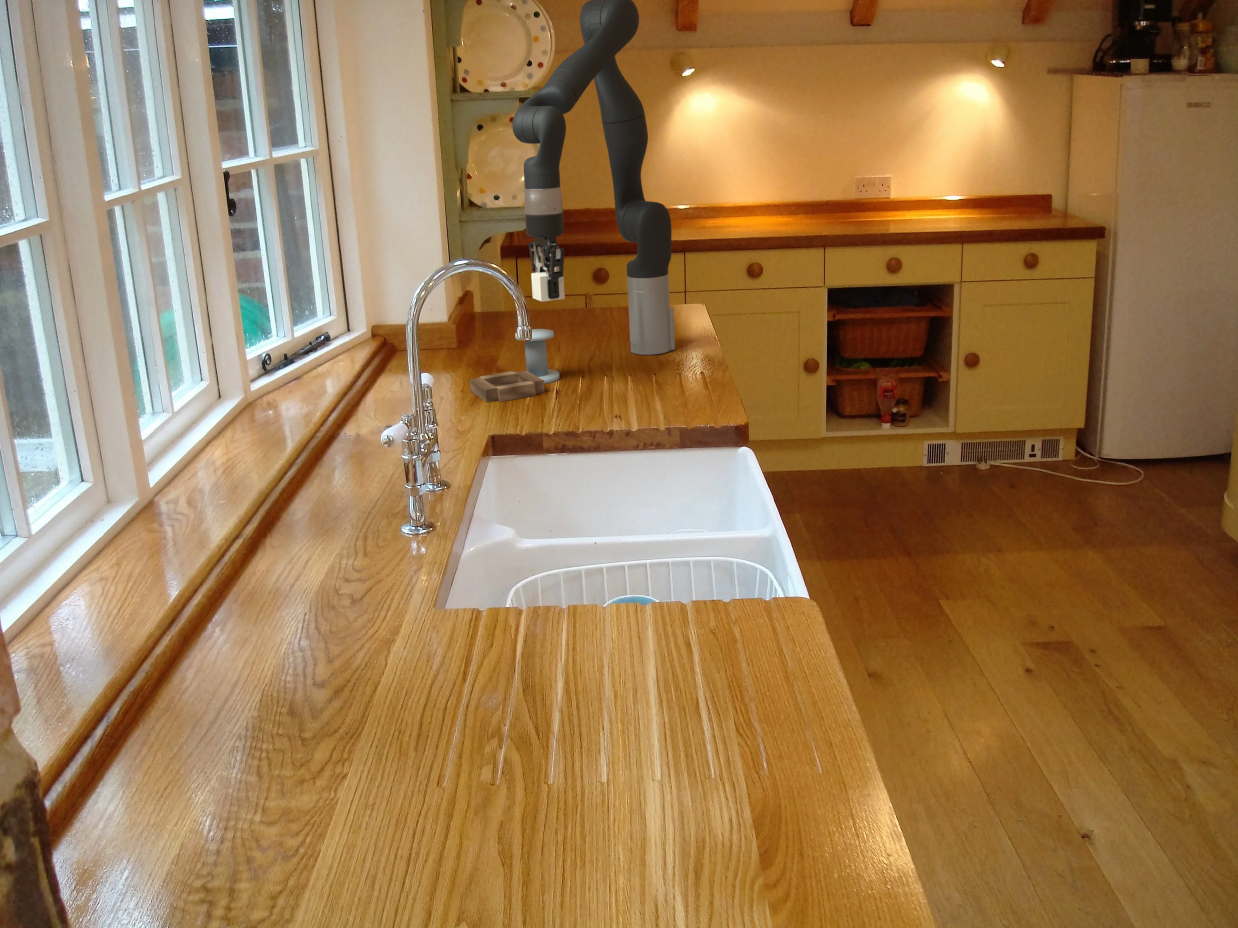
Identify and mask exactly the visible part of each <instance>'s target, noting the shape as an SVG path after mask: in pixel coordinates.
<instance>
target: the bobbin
mask: <svg viewBox="0 0 1238 928" xmlns="http://www.w3.org/2000/svg"><path fill="white" fill-rule="evenodd" d="M514 335H515V337H514V338H515V340H516V341H520V340H519V339H518V337H517V332H515V333H514ZM554 336H555V331H554V330H552V329H547V328H535V329H532V339H531V340H530V341H527V342H524V352H525V353H524V354H525V363H526V371H528V372H530V373H532V374H533V375H535V376H537V377H539V378H541V379H542V380H544V385H545V384H551V383H554V382H556V381H558V380H560V372H559V371H558V370H556V369H551V368H549V367H548V354H547V341H546V340H549V339H552V338H554Z"/></svg>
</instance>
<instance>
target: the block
mask: <svg viewBox="0 0 1238 928" xmlns="http://www.w3.org/2000/svg"><path fill="white" fill-rule="evenodd" d="M554 272H555V270H554ZM530 276H531V277H530V278H531V290H532V299H534V300H537V301H540V302H548V301H551V302H552V301H557V300H558V301H559V300H565V296H566V295H565V277H564V275H563V277H560V279H558V280H559V298H556V299H550V298H548V288H547V276H546V272H540V273H535V272H532V273H531V274H530Z"/></svg>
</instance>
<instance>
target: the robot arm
mask: <svg viewBox="0 0 1238 928" xmlns="http://www.w3.org/2000/svg"><path fill="white" fill-rule="evenodd" d="M579 24H580V32H581V36H582V40H583V45H581V47H579V48H578V49H577V50H575V51H574V52H573V53H571V54H570V55H568V57H566V58H565V59H564V60H563V61H562V62H560V64H559V65H558V66H557V67H556V68H555V69H554V71H553V72H552V74H551V75H550V77H549V78H548V80H547V81H546V82H545V84H544V85H543V87H541V88H540V89H539V90H538V91H535V93H534V94H532V95H531V96H530V97H529V98H527V100H525V101H524V102H523V103H522V104H520V106H519V107H518V108H517V110H516V112H515V113H514V116H513V119H512V122H511V123H512V124H511V125H512V127H511V128H512V133H513V135H514V137H515V138H516V139H517V140H518V141H519V142H520V143H524V144H527V145H528V144H529V145H530V144H533V145H534V144H538V145H539V147H538V151H537V154H536V155H535V156H531V157H528V158H526V159H525V160H524V162H523V180H524V200H523V202H524V215H525V216H524V217H525V218H524V219H525V220H524V221H525V232H526V235H527V236H528V237H531V238H534V240H533V242H529V243H528V249H529V255H530V256H529V257H530V264H531V271H532V273H540V272H546V276H547V288H548V298H550V299H556V298H559V280H558V279H560V277H563V276H564V267H565V264H564V263H565V249H564V248H563V247H561V248H559V244H558V240H557V237H558V236H562V235H563V234H564V232H565V225H564V210H563V209H564V207H563V206H564V205H563V195H562V191H561V174H560V164H561V160H562V159H561V158H562V155H563V154H562V153H563V149H564V145H565V138H566V133H567V123H566V119H565V117H564V115H565V114H568V113H570V112H571V111H572V109H573V108H574V107H575V106H576V104H577V103H578V101H579V100H580V98H581V97H582V95H583V94H584V92H585V91H586V90H587V88H588V87H589V85H590V84H591V82H592V81H594V86H595V90H596V94H597V101H598V105H599V110H600V116H601V118H600V119H601V124H602V129H603V130H602V131H603V134H604V139H605V140H604V141H605V144H606V149H607V154H608V161H609V166H610V173H611V178H612V179H611V180H612V185H613V196H614V197H613V198H614V208H615V210H614V211H615V212H614V213H615V219H616V226H617V231H618V232H619V233H620V236H621V237H622V239H624V240H625V241H626V242H630V243H634V244H637V252H636V256H635V258H634V259H632V260H629V261H628V262H627V264H626V283H627V284H626V285H627V300H628V301H627V303H628V319H629V322H628V324H629V345H630V352H631V353H632V354H637V355H641V356H642V355H644V356H646V355H647V356H648V355H649V356H650V355H651V356H652V355H659V354H660V355H661V354H665V353H668V352H671V351H675V350H676V344H675V343H676V340H675V338H676V337H675V316H674V315H675V314H674V308H673V307H672V306H671V305H670V303H671V302H670V284H669V282H670V280H669V279H670V278H669V265H670V263H671V260H672V234H673V233H672V219H671V218H672V217H671V215H670V212H669V210H668V208H667V206H665V205H664V204H663V203H661V202H658V201H652V200H651V201H650V200H646V197H645V194H644V190H643V184H642V167H643V163H644V159H645V156H646V152H647V148H648V142H649V133H648V126H647V120H646V113H645V109H644V106H643V104H642V101H641V99H640V97H639V96H638V94H637V93H636V92H635V90H634V89H633V87H632V86H631V85H630V83H629V82H628V81H627V79H626V78H625V76H624V75H623V73H622V71H621V70H620V68H619V66H618V63H617V60H616V59H617V58H616V55H617V54H619V52H621V50H622V49H624V47H626V45H628V44H629V43H630V41H631V40H633V38H634V37H635V35H636V34H637V31H638V29H639V25H640V15H639V10H638V7H637V6H636V4H635V2H634V1H633V0H588V1H586V2H585V3H584V4H583V5H582V7H581V9H580V14H579ZM554 271H555V272H554Z"/></svg>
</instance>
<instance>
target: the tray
mask: <svg viewBox="0 0 1238 928" xmlns="http://www.w3.org/2000/svg"><path fill="white" fill-rule="evenodd" d="M469 387H470V392H471V393H473V394H474V395H475V396H477V397H479V398H480V399H481V400H483V401H484V402H485V403H490V402H496V401H499V402H506V401H510V400H518V399H524V398H530V397H535V396H536V395H538V394H542V393H545V384H544V380H542V379H541V378H539V377H537V376H535V375H533V374H532V373H530V372H528V371H527V370H521V371H516V372H515V371H514V370H512V371H504V372H499V373H493V374H487V375H481V376H478V378H472V379H471V378H470V379H469Z"/></svg>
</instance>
